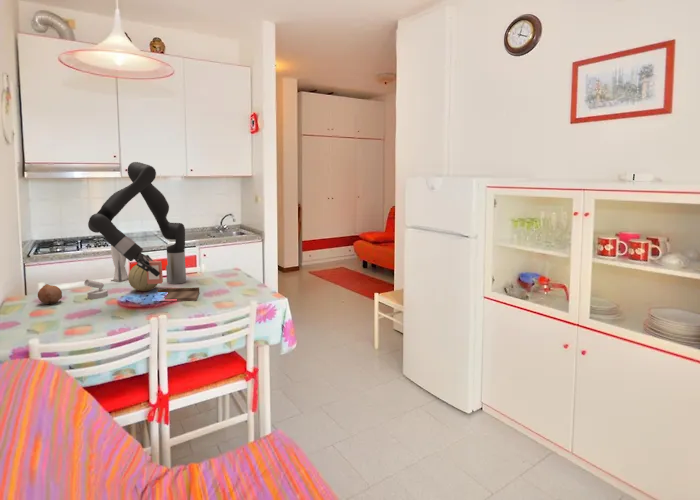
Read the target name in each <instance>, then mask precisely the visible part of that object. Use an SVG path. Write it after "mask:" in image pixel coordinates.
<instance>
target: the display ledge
mask: <svg viewBox="0 0 700 500" xmlns="http://www.w3.org/2000/svg"><path fill="white" fill-rule="evenodd" d="M157 292H168V294H167V297H166V298H165V299H177V301H176V302H190V301H191V302H193V301H197V299H198V297H199V295H200V287H198V286H197V287H174V288H173V287H172V288H171V287H170V288H157V289H156V293H157Z"/></svg>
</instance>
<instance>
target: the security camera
mask: <svg viewBox="0 0 700 500" xmlns="http://www.w3.org/2000/svg"><path fill="white" fill-rule="evenodd" d="M84 286H86V287H91V288H96V289H91V290H89V291H87V293H86V294H87V298H88V299H91V300H93V299H96V300H97V299H98V300H99V299H103V298H106V297H108V289H106V288H104V287H105V286H104V283H103V282H100V281H96V280H91V279H87V278H86V279H85V280H84Z"/></svg>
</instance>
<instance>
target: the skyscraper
mask: <svg viewBox="0 0 700 500" xmlns="http://www.w3.org/2000/svg"><path fill="white" fill-rule="evenodd" d="M110 245H111V244H110ZM110 248H111V249H110V253H111V257H112V262H113V266H114V273H113V274H114V275H113V279H111V280H110V282H116V283H123V282H126V281H129V280H128V275H129V274H128V273H127V270H126V264H127V263H126V262H127V258H126V257H124V256H123V255H122V254H121V253H120V252H118V251H117V250H116V249H115V248H114V247H113V246H112V245H111V247H110Z"/></svg>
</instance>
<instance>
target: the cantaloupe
mask: <svg viewBox="0 0 700 500" xmlns="http://www.w3.org/2000/svg"><path fill="white" fill-rule="evenodd" d="M127 275H128V280H127V281H128V283H129V285H130V286H131V287H132V288H133V289H135V290H137V291H141V292H147V291H151V290H153V289H155V288H156V287H157V286H158V284H148V283H147V271H145V270H144V269H142V268H140V267H139V266H137V265H136V264H135V265H134V266H132V268H130V270H129V272H128V274H127Z"/></svg>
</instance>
